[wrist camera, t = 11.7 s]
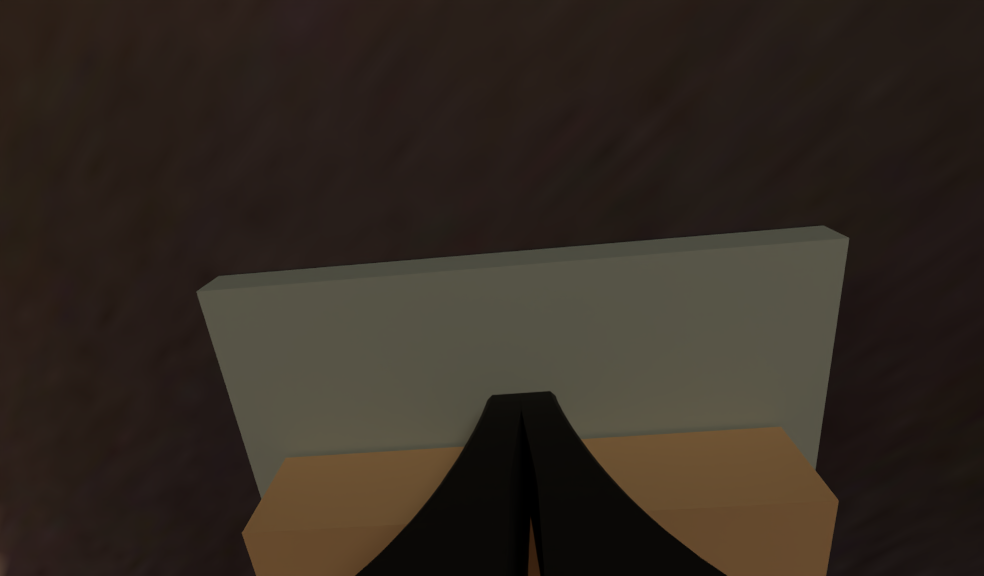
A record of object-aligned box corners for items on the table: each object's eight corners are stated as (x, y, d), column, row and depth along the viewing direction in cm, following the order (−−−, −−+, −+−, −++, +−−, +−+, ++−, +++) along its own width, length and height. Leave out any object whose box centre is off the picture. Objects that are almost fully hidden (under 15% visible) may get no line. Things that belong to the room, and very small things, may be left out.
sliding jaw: (766, 554, 14) (814, 643, 12) (319, 576, 15) (286, 664, 13) (780, 426, 13) (838, 500, 11) (285, 457, 14) (242, 533, 11)
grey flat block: (764, 686, 18) (822, 823, 14) (344, 701, 19) (309, 834, 15) (822, 225, 12) (938, 280, 9) (218, 276, 13) (121, 343, 10)
